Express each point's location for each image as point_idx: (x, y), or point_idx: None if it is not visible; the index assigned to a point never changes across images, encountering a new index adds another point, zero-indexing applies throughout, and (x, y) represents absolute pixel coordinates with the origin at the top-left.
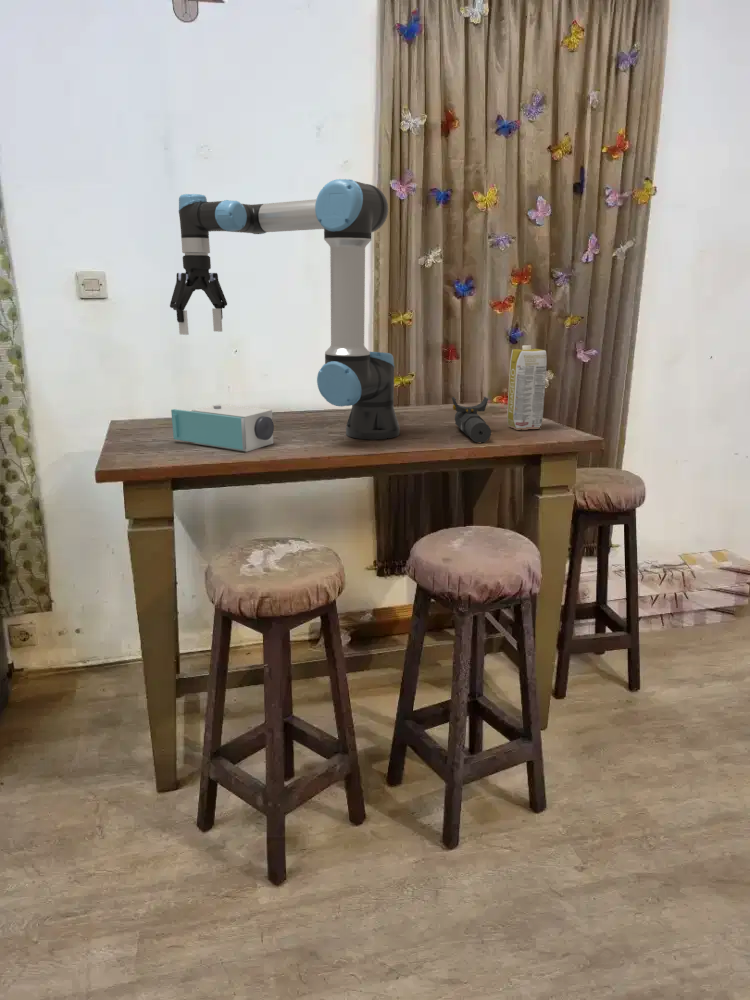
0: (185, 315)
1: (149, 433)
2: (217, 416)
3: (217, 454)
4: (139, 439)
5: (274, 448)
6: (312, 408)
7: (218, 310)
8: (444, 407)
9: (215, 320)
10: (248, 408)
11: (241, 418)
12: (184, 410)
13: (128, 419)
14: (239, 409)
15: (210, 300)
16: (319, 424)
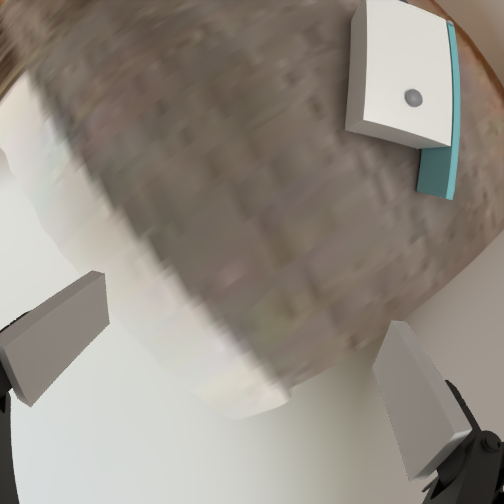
0: (453, 401)
1: (371, 282)
2: (458, 73)
3: None
4: (417, 264)
5: None
6: (45, 144)
7: (16, 348)
8: (19, 13)
9: (70, 340)
10: (378, 33)
11: (453, 24)
12: (451, 164)
13: (273, 384)
14: (399, 47)
15: (10, 454)
16: (160, 32)
